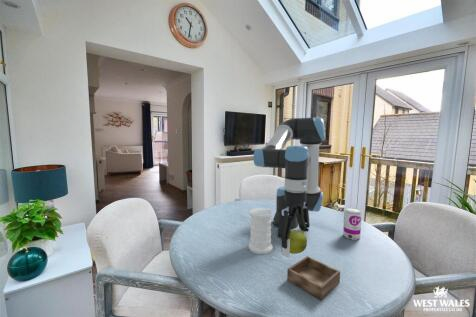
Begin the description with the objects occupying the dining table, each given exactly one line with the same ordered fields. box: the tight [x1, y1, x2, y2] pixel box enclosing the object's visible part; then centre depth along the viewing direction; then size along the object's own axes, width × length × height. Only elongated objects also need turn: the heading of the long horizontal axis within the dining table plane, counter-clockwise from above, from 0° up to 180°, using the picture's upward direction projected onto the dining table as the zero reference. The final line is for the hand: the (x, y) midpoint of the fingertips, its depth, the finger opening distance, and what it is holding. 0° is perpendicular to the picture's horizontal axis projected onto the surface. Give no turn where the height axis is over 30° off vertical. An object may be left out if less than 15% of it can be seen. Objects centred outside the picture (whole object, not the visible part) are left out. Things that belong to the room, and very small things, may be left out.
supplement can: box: [342, 207, 363, 241], centre depth 117 cm, size 8×8×15 cm
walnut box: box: [286, 255, 341, 301], centre depth 81 cm, size 14×14×4 cm
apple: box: [280, 229, 308, 255], centre depth 78 cm, size 8×9×8 cm
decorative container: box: [248, 207, 273, 255], centre depth 105 cm, size 12×12×18 cm
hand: (293, 251), depth 79 cm, fingers closed on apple, 8 cm apart
